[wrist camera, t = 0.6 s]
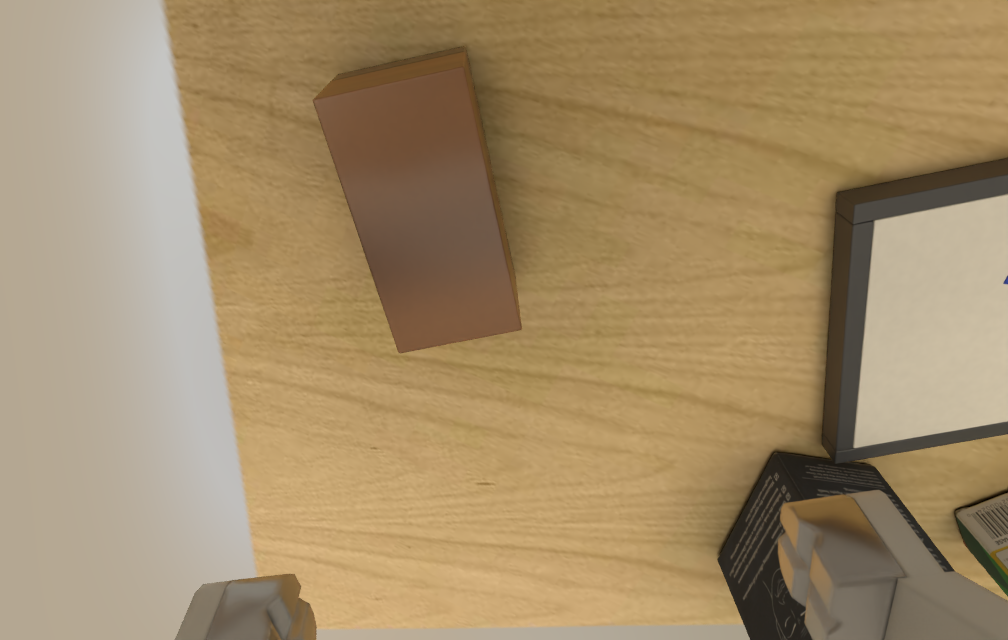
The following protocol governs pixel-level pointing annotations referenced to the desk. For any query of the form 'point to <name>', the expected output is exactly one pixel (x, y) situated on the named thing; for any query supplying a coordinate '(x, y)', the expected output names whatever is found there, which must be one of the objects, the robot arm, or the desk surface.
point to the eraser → (423, 197)
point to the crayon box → (988, 536)
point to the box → (756, 533)
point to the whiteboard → (918, 314)
